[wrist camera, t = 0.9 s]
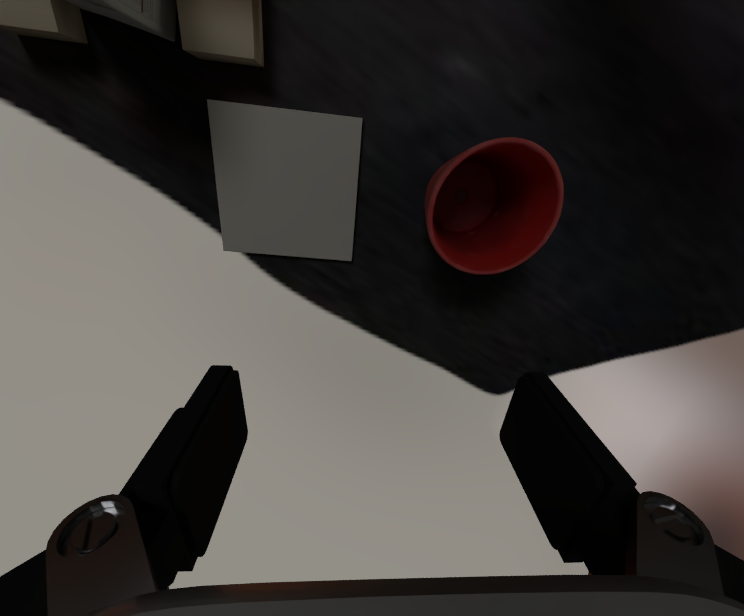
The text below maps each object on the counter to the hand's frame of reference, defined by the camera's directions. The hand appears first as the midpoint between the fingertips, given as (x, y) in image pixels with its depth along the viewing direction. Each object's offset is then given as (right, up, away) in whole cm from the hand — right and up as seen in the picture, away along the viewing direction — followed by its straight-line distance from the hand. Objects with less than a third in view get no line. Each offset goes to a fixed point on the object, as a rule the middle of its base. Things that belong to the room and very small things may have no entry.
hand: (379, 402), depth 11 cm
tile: (-9, +15, +22) cm, 28 cm away
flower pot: (+9, +15, +23) cm, 29 cm away
